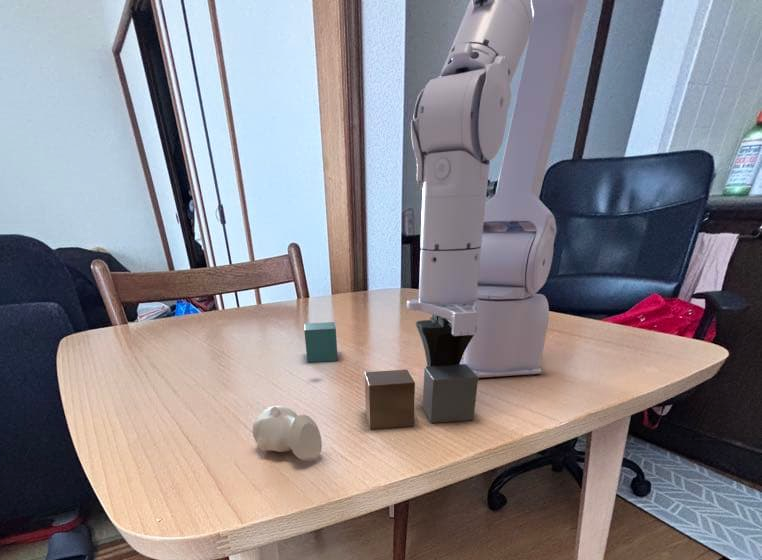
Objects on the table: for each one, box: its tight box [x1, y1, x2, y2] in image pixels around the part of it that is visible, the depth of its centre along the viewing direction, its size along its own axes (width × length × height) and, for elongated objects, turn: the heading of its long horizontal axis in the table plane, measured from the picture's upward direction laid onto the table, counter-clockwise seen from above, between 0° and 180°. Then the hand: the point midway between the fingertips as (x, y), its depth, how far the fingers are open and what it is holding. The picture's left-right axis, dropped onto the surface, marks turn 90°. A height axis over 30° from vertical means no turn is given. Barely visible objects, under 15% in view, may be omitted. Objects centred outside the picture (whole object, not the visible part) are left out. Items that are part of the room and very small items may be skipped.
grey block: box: [422, 364, 479, 424], centre depth 49 cm, size 4×4×4 cm
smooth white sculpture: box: [252, 405, 323, 461], centre depth 43 cm, size 4×8×5 cm
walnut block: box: [364, 369, 416, 430], centre depth 48 cm, size 4×4×4 cm
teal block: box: [303, 321, 339, 364], centre depth 69 cm, size 4×4×4 cm
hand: (440, 390), depth 52 cm, fingers closed
